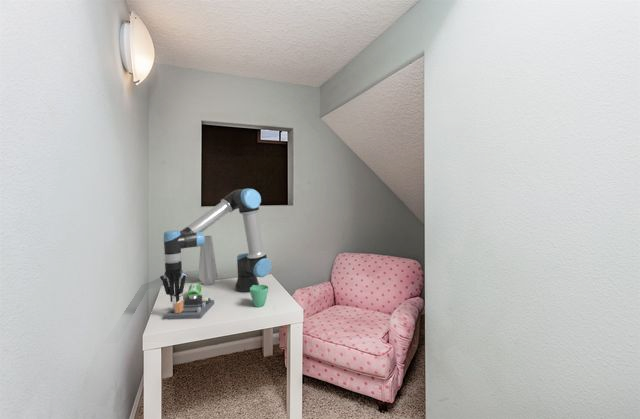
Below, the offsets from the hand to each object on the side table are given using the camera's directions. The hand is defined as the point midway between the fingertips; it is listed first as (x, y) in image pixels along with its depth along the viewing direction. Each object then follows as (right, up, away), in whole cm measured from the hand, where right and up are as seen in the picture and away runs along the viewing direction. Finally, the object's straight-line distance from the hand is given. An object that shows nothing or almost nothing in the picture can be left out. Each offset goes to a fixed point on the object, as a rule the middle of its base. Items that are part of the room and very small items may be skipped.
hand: (175, 307), depth 155 cm
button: (+4, -1, +14) cm, 14 cm away
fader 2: (+2, -2, 0) cm, 3 cm away
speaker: (-1, -4, +27) cm, 27 cm away
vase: (-4, -2, +58) cm, 59 cm away
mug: (+39, -3, +15) cm, 42 cm away
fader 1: (-1, -2, +7) cm, 7 cm away
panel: (+5, -4, +7) cm, 9 cm away
